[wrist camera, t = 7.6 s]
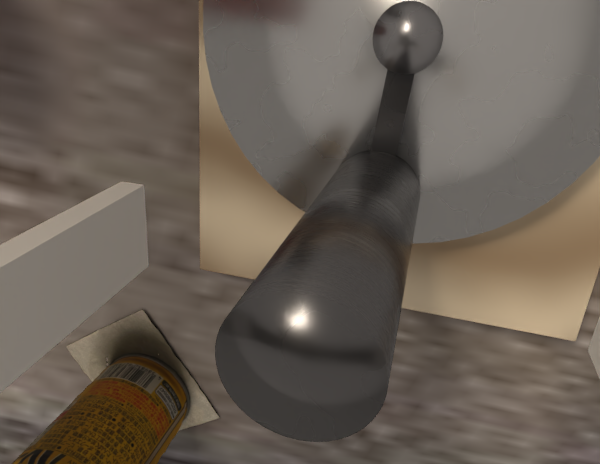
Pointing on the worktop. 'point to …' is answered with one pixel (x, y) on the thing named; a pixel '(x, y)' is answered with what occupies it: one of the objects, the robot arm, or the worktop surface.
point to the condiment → (123, 400)
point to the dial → (384, 169)
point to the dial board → (424, 256)
